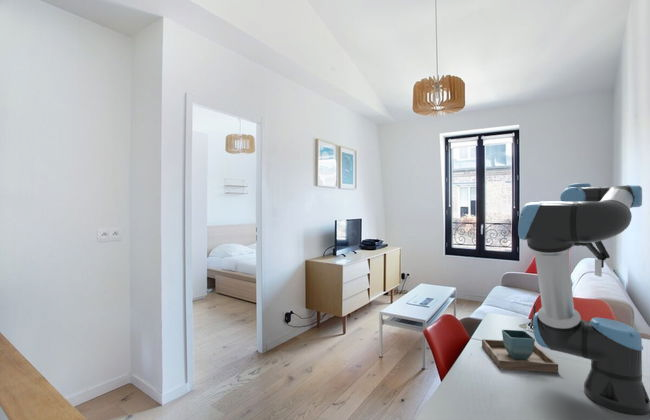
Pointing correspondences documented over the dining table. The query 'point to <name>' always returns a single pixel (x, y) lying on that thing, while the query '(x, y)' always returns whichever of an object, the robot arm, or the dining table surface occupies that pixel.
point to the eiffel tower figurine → (529, 323)
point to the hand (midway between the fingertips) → (579, 275)
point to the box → (505, 361)
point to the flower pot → (518, 343)
